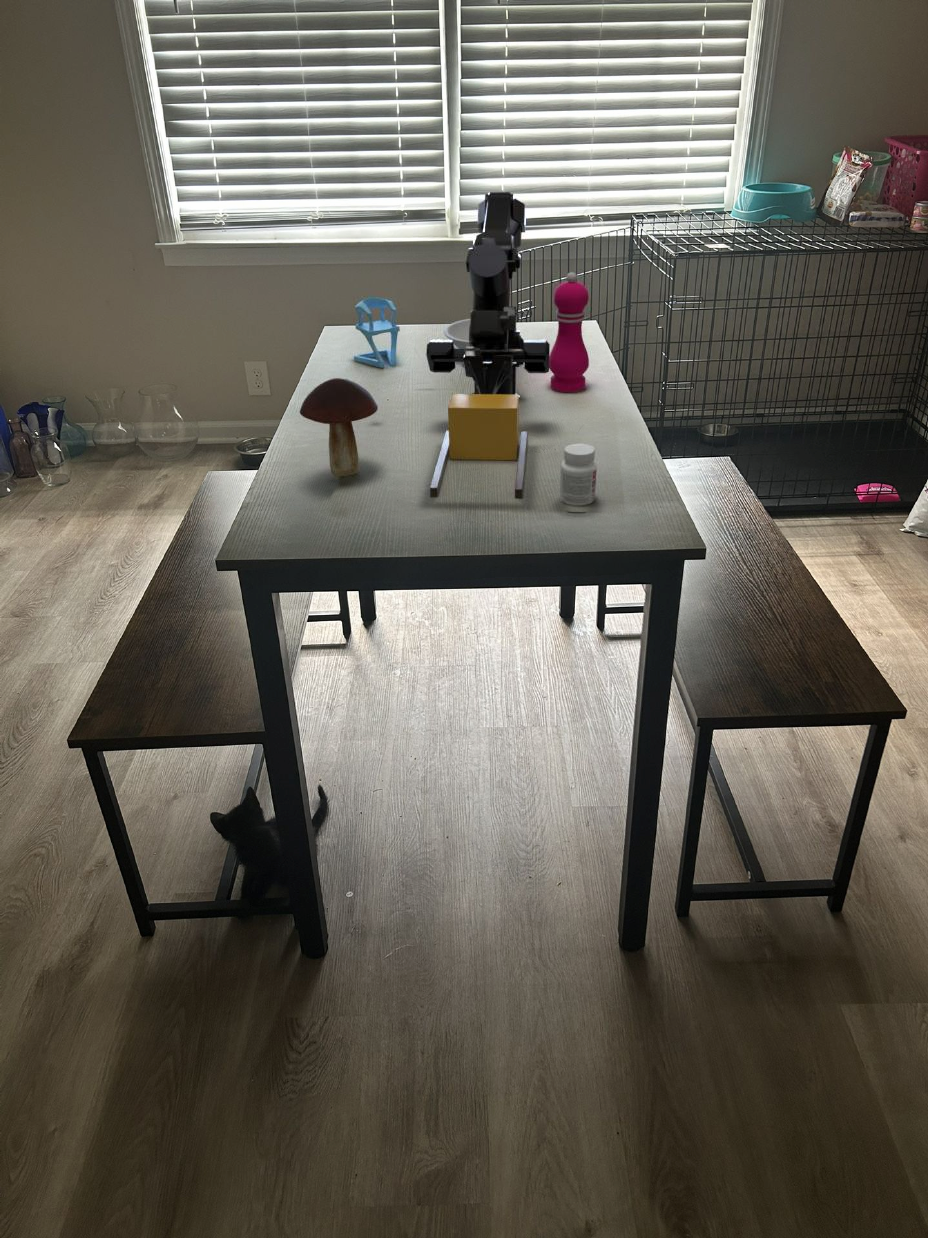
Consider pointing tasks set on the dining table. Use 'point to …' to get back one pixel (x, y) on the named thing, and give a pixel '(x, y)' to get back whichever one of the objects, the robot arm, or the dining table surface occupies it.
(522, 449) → the maple track
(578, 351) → the pepper mill
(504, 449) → the ochre block
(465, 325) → the dish
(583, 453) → the pill bottle
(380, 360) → the chair
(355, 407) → the decorative mushroom
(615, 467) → the dining table surface
